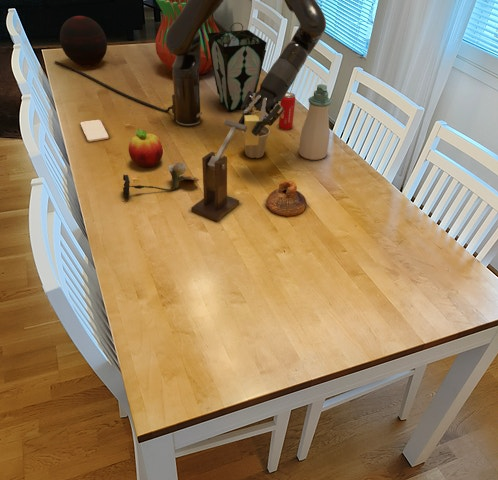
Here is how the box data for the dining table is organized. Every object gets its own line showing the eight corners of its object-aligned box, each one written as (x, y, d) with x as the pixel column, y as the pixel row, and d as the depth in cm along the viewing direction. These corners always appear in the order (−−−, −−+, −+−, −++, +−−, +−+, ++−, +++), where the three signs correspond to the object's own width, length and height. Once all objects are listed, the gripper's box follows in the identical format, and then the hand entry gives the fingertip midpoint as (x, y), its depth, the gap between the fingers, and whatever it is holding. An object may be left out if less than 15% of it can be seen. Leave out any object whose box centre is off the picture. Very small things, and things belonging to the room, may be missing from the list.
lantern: (224, 116, 176) (223, 30, 156) (208, 100, 187) (206, 18, 167) (262, 111, 182) (267, 27, 161) (246, 95, 193) (248, 15, 172)
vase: (188, 55, 227) (184, -16, 206) (236, 69, 215) (237, -5, 194) (144, 71, 209) (135, -5, 188) (194, 88, 197) (190, 8, 176)
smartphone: (87, 140, 157) (79, 122, 166) (88, 142, 157) (80, 124, 167) (109, 136, 159) (99, 119, 169) (109, 138, 160) (100, 121, 169)
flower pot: (271, 150, 158) (273, 126, 152) (263, 163, 151) (265, 138, 145) (246, 145, 160) (247, 121, 154) (237, 157, 153) (237, 133, 147)
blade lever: (228, 123, 126) (225, 117, 123) (248, 129, 123) (245, 124, 121) (204, 166, 124) (200, 161, 122) (223, 173, 122) (220, 169, 119)
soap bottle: (302, 161, 153) (310, 92, 137) (295, 148, 160) (302, 80, 144) (330, 160, 154) (341, 91, 139) (322, 146, 161) (332, 80, 146)
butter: (245, 145, 136) (245, 121, 131) (243, 139, 139) (244, 115, 134) (258, 145, 137) (259, 120, 132) (256, 138, 140) (257, 114, 134)
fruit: (136, 174, 143) (131, 144, 136) (126, 158, 150) (121, 129, 143) (168, 167, 147) (166, 137, 140) (157, 152, 154) (154, 123, 147)
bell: (312, 213, 131) (315, 191, 126) (272, 219, 128) (274, 197, 123) (297, 192, 139) (300, 170, 134) (260, 197, 136) (261, 175, 131)
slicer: (214, 194, 137) (213, 144, 126) (239, 204, 133) (240, 154, 122) (191, 211, 130) (188, 160, 119) (217, 222, 126) (216, 170, 115)
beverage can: (291, 130, 170) (294, 98, 161) (277, 129, 170) (280, 96, 162) (293, 125, 173) (296, 93, 165) (279, 123, 174) (282, 91, 166)
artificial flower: (121, 192, 138) (119, 158, 133) (194, 190, 145) (194, 158, 140) (123, 200, 130) (121, 165, 126) (200, 198, 137) (201, 164, 133)
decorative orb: (97, 55, 223) (88, 8, 209) (118, 66, 212) (111, 18, 199) (58, 63, 213) (46, 14, 199) (78, 75, 202) (68, 25, 188)
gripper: (256, 64, 132) (224, 115, 135) (290, 79, 125) (256, 133, 127) (268, 79, 139) (238, 128, 141) (302, 94, 131) (269, 145, 134)
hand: (247, 130), depth 134 cm, fingers closed on butter, 5 cm apart
